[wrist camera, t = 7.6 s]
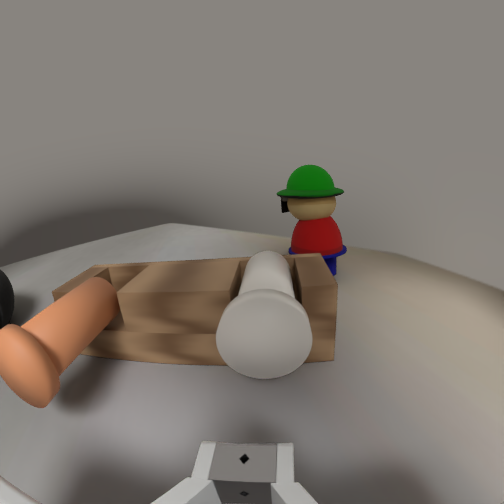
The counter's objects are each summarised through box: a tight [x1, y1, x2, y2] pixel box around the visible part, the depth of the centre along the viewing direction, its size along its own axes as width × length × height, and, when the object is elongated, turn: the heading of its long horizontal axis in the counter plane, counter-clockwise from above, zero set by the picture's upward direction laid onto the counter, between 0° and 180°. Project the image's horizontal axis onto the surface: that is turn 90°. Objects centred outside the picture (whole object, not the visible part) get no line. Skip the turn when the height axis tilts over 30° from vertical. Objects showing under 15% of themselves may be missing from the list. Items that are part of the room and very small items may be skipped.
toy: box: [277, 165, 347, 276], centre depth 38 cm, size 9×9×15 cm
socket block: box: [52, 253, 338, 365], centre depth 25 cm, size 24×8×6 cm, turn 86°
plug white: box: [216, 251, 312, 379], centre depth 21 cm, size 5×11×5 cm, turn 176°
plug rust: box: [0, 277, 120, 408], centre depth 17 cm, size 5×11×5 cm, turn 176°
